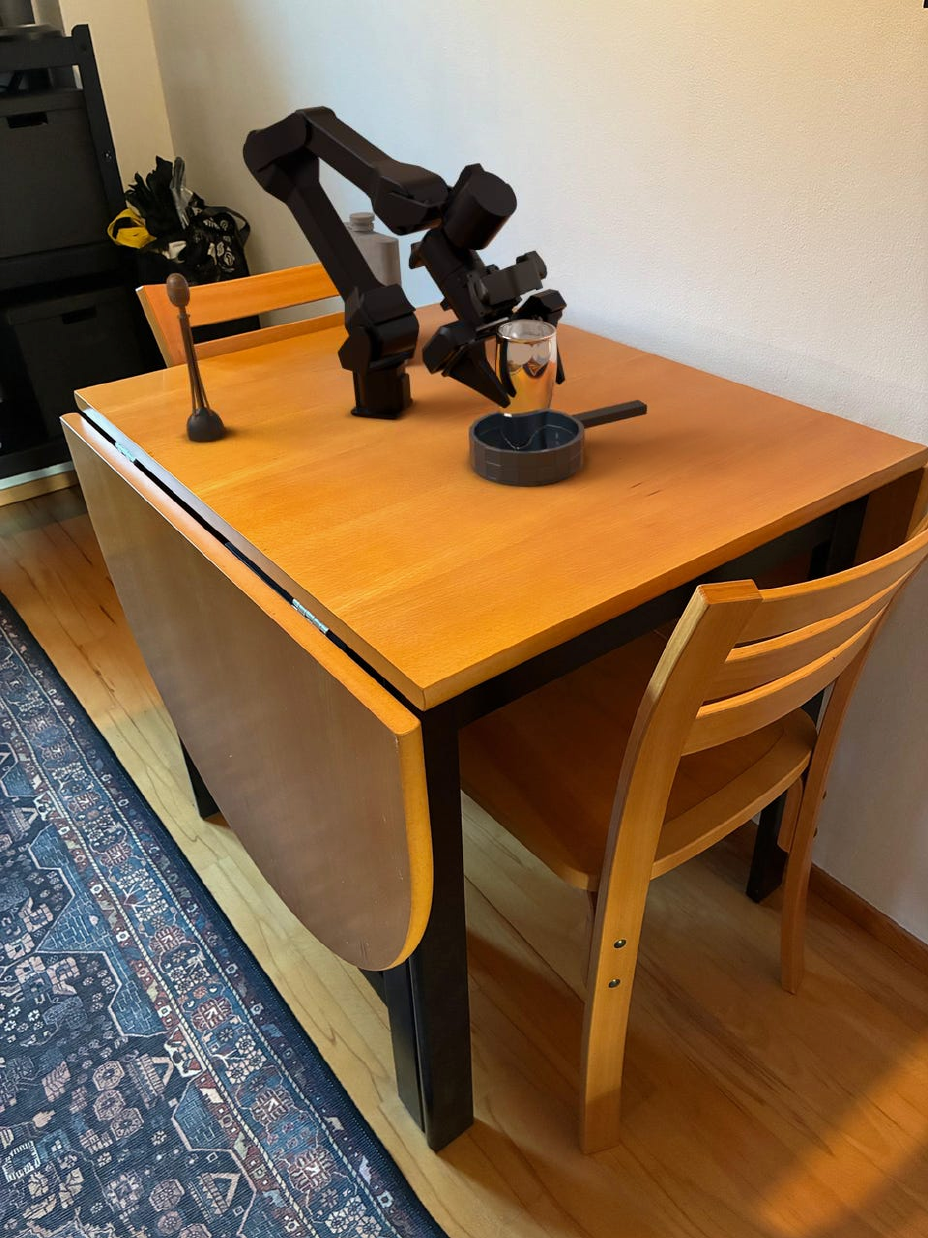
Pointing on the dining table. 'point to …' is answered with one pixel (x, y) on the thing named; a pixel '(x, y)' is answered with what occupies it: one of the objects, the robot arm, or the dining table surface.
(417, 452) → the dining table surface
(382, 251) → the hip flask
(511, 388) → the chrome pilsner tumbler
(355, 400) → the robot arm
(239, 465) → the dining table surface
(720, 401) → the dining table surface
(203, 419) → the wooden tabletop sculpture
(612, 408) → the saucepan handle
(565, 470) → the saucepan
